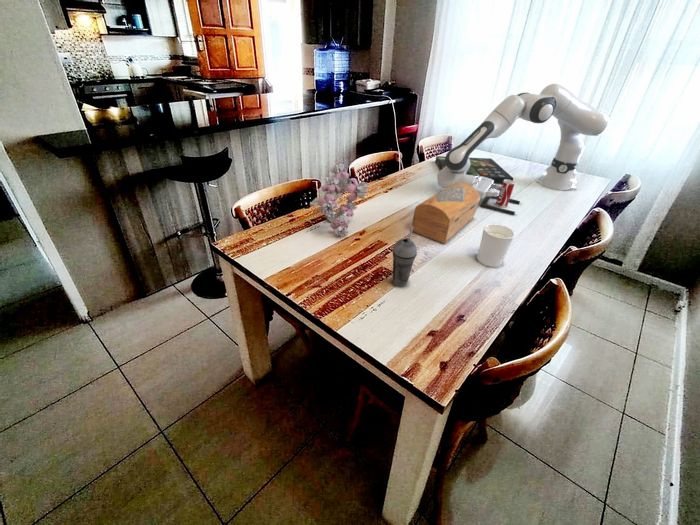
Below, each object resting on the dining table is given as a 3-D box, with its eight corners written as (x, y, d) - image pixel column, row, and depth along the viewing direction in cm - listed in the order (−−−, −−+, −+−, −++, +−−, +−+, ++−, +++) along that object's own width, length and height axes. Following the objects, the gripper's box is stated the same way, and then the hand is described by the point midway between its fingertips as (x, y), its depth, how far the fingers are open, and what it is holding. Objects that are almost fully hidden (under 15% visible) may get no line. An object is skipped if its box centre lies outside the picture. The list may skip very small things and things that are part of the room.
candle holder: (503, 256, 118) (513, 227, 111) (504, 271, 110) (515, 240, 104) (475, 250, 120) (483, 221, 114) (474, 264, 113) (483, 234, 106)
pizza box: (511, 184, 179) (513, 178, 177) (448, 181, 179) (449, 175, 177) (489, 164, 208) (491, 158, 206) (435, 161, 208) (436, 156, 206)
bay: (487, 195, 164) (488, 193, 164) (519, 203, 158) (520, 201, 158) (480, 206, 153) (480, 204, 152) (513, 215, 147) (514, 212, 146)
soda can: (508, 208, 153) (516, 183, 146) (496, 206, 154) (504, 182, 147) (505, 203, 157) (514, 179, 150) (494, 202, 158) (502, 178, 151)
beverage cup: (386, 275, 106) (393, 220, 94) (408, 275, 106) (417, 220, 95) (390, 290, 100) (398, 233, 88) (413, 289, 100) (424, 233, 89)
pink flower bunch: (290, 227, 126) (311, 178, 109) (316, 200, 142) (338, 154, 125) (333, 255, 127) (361, 211, 109) (354, 226, 143) (381, 183, 125)
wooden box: (441, 207, 151) (447, 178, 143) (475, 218, 142) (484, 188, 134) (407, 230, 131) (412, 198, 124) (444, 245, 123) (452, 211, 115)
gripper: (465, 184, 149) (496, 192, 144) (476, 173, 164) (505, 179, 158) (462, 197, 153) (492, 205, 147) (473, 185, 168) (501, 191, 162)
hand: (499, 191), depth 153 cm, fingers open, 8 cm apart
